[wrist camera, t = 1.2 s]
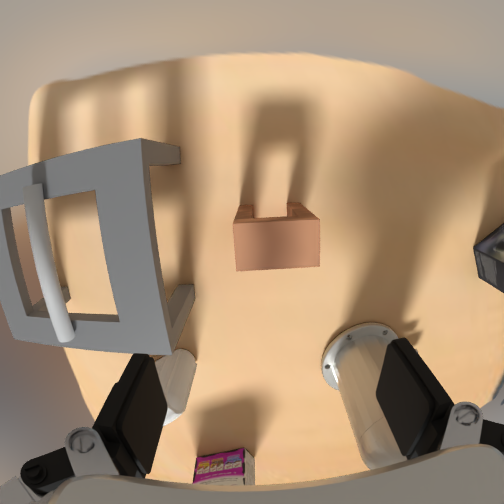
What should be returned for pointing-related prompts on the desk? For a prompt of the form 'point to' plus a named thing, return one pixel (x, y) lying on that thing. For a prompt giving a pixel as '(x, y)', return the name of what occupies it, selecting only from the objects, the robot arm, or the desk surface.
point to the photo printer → (176, 381)
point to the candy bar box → (225, 469)
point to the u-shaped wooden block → (276, 239)
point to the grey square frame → (115, 248)
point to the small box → (491, 258)
